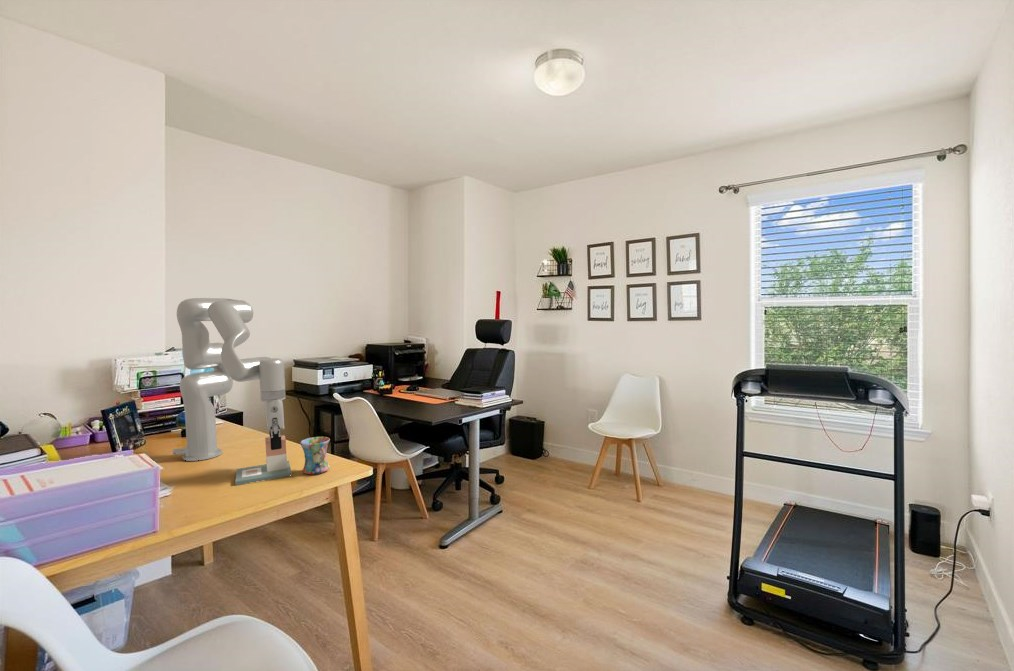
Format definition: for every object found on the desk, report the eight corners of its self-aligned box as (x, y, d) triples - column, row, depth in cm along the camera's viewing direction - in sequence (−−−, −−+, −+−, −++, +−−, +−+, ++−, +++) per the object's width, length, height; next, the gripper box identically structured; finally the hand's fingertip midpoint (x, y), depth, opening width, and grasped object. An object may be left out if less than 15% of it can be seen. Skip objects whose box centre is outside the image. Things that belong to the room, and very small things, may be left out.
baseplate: (235, 485, 148) (234, 462, 147) (236, 472, 160) (235, 451, 160) (291, 475, 155) (290, 454, 155) (288, 464, 168) (287, 444, 167)
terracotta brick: (266, 456, 156) (265, 441, 156) (265, 452, 161) (265, 437, 161) (286, 453, 159) (285, 439, 159) (285, 449, 164) (284, 435, 164)
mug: (297, 471, 160) (295, 440, 159) (324, 465, 166) (323, 435, 165) (310, 480, 151) (309, 447, 150) (339, 473, 157) (337, 441, 156)
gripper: (286, 398, 153) (289, 450, 154) (283, 390, 168) (286, 437, 169) (260, 400, 150) (263, 454, 151) (260, 392, 165) (262, 441, 166)
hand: (275, 445), depth 160 cm, fingers open, 9 cm apart
